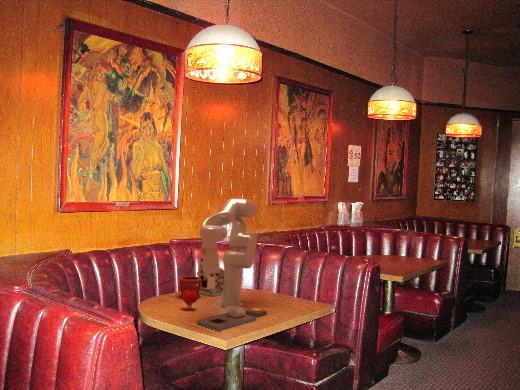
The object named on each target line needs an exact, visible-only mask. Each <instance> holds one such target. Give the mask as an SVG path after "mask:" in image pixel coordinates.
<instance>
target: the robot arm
mask: <svg viewBox="0 0 520 390" xmlns="http://www.w3.org/2000/svg"><path fill="white" fill-rule="evenodd" d="M258 211H259V210H258V205H257V204H256V202H254V201H252V200H250V199H247V198H238V197H237V198H235V197H234V198H233V197H231V198H229V199H227V200H226V201H225V203H224V205H223V206H222V208H221V209H220V211H219V212H216V213H215V214H213V215H211V216H209V217H207V218H206V219H205V220H204V221H203V223H202V225H201V226H200V229H199V235H200V238H201V249H200V253H201V254H200V258H199V263H198V270H197V272H196V275H197V277H200V279H201V287H202V288H206V276H207V275H209V274H210V275H211V276H215V279H216V276H217V275H218V273H219V272H220V270H219V268H220V262H219V261H220V260H219V255H218V253H217V251H218V241H224V240H225V239H227V236H228V229H227V228H226V227H225V226H226V225H229V224H232V225H231V230H230V234H229V235H230V236H229V241H228V242H229V243H228V245H229V248H231V250H227V251H225V252H224V253H223V255H222V262H223V270H224V294H223V295H220V297H219V300H221V302H220V306H221V307H223V308H228V307H229V308H230V307H234V306H239V307H242V308H243V303H242V302H241V280H242V276H241V272H240V270H239V269H245V270H246V269H247V270H248V269H251V268H252V266H253V264H254V262H255V261H254V260H255V256H256V255H255V254H256V250H257V243H258V242H257V241H258V240H257V236H256V235H255V234H253V233H247V227H248V226H247V223H246V221H245V219H244V218H254V217H256V216H257V214H258ZM243 217H244V218H243ZM232 249H233V250H232ZM234 249H235V250H234ZM203 276H204V277H203Z"/></svg>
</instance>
